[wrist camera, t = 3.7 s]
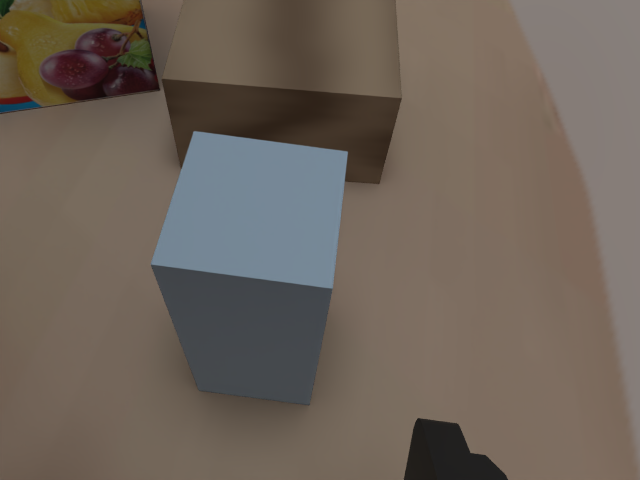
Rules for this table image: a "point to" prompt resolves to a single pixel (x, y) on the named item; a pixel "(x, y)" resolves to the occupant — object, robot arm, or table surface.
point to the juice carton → (72, 52)
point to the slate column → (252, 262)
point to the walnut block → (288, 75)
